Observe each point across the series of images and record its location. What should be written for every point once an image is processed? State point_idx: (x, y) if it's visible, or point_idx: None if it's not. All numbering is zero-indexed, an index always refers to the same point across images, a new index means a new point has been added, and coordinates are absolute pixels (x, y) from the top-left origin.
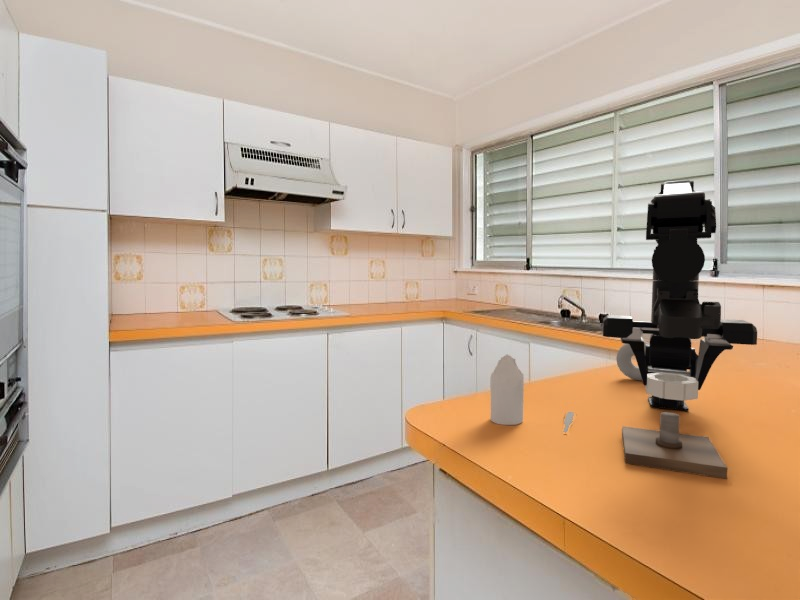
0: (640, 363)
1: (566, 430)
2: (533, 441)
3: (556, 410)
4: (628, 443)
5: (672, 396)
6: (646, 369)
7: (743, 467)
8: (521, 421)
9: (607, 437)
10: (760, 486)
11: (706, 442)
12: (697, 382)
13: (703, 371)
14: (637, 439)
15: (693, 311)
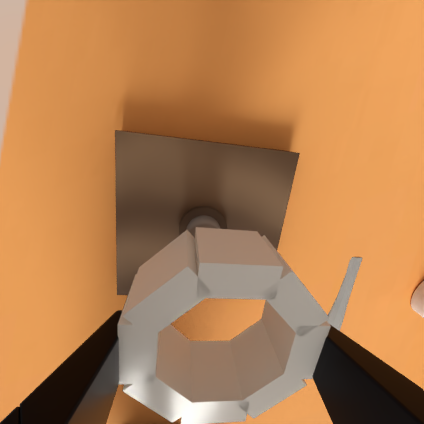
0: (419, 393)
1: (351, 275)
2: (421, 208)
3: None
4: (278, 209)
5: (234, 234)
6: (359, 365)
7: (79, 201)
8: (418, 289)
9: None
10: (66, 112)
11: (126, 263)
12: (124, 312)
13: (68, 386)
14: None
15: None
